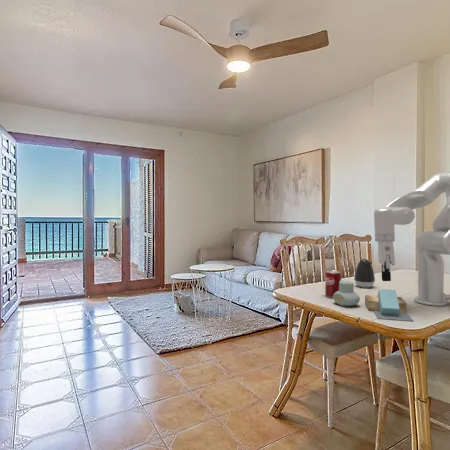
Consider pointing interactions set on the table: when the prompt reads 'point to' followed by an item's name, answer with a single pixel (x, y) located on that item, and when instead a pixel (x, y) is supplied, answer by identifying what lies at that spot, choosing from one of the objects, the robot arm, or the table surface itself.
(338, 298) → the air freshener
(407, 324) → the table surface
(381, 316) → the grey mat
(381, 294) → the teal box
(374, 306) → the oak deck
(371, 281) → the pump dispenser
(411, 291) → the table surface
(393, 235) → the robot arm
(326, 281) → the soda can
